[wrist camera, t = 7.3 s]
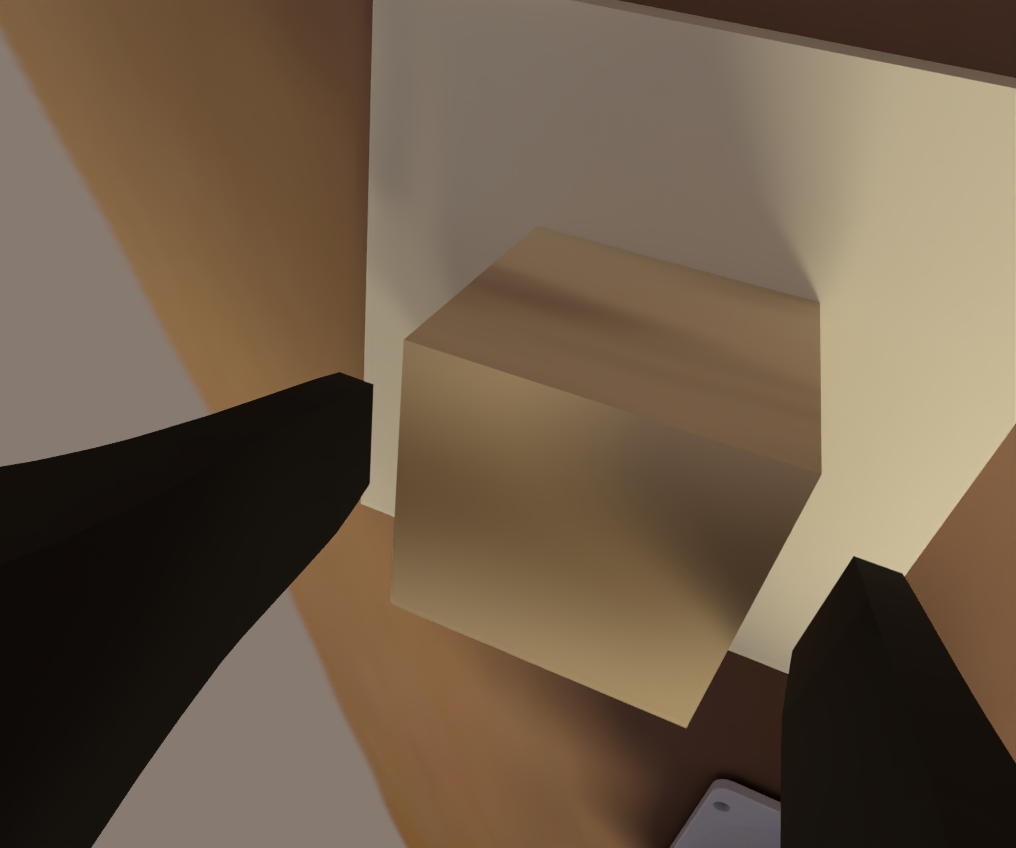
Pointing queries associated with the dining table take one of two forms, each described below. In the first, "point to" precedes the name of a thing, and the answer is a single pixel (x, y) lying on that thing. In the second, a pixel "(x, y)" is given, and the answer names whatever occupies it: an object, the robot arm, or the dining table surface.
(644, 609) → the maple cube
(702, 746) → the dining table surface
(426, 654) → the dining table surface
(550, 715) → the dining table surface
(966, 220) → the beige block
